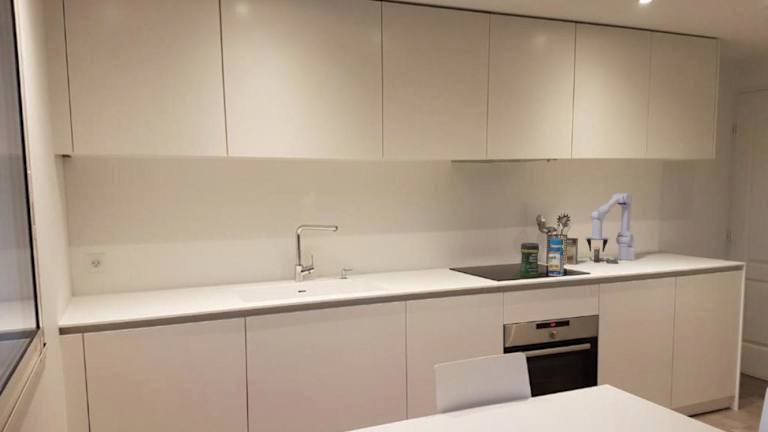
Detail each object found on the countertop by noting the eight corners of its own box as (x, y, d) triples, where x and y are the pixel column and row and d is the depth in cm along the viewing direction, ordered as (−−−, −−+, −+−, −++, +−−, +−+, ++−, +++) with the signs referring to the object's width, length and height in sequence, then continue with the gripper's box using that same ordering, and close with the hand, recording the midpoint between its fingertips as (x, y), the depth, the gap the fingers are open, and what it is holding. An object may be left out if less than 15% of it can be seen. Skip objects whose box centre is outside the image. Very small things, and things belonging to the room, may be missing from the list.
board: (608, 259, 346) (608, 257, 346) (610, 261, 337) (610, 259, 337) (589, 258, 350) (589, 257, 350) (590, 260, 340) (590, 259, 340)
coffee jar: (525, 278, 281) (525, 243, 280) (517, 275, 289) (518, 242, 288) (541, 277, 284) (541, 243, 283) (533, 274, 291) (533, 241, 290)
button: (614, 261, 332) (614, 257, 332) (615, 261, 329) (615, 258, 329) (608, 260, 333) (608, 257, 333) (609, 261, 330) (609, 257, 330)
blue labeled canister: (566, 275, 287) (567, 239, 285) (552, 276, 285) (553, 240, 284) (558, 273, 295) (559, 238, 294) (545, 273, 293) (545, 238, 292)
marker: (599, 262, 335) (599, 247, 334) (599, 262, 332) (600, 248, 331) (593, 261, 336) (593, 247, 335) (593, 262, 333) (594, 247, 332)
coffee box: (560, 263, 330) (560, 238, 329) (562, 262, 335) (563, 237, 334) (575, 264, 325) (576, 239, 324) (577, 263, 330) (578, 238, 329)
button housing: (616, 262, 333) (616, 258, 333) (617, 263, 327) (617, 260, 327) (606, 261, 335) (606, 258, 335) (607, 263, 329) (607, 259, 329)
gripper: (585, 230, 331) (585, 251, 332) (610, 230, 327) (609, 252, 327) (584, 229, 337) (584, 250, 338) (609, 230, 333) (608, 251, 334)
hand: (596, 251), depth 333 cm, fingers open, 7 cm apart
